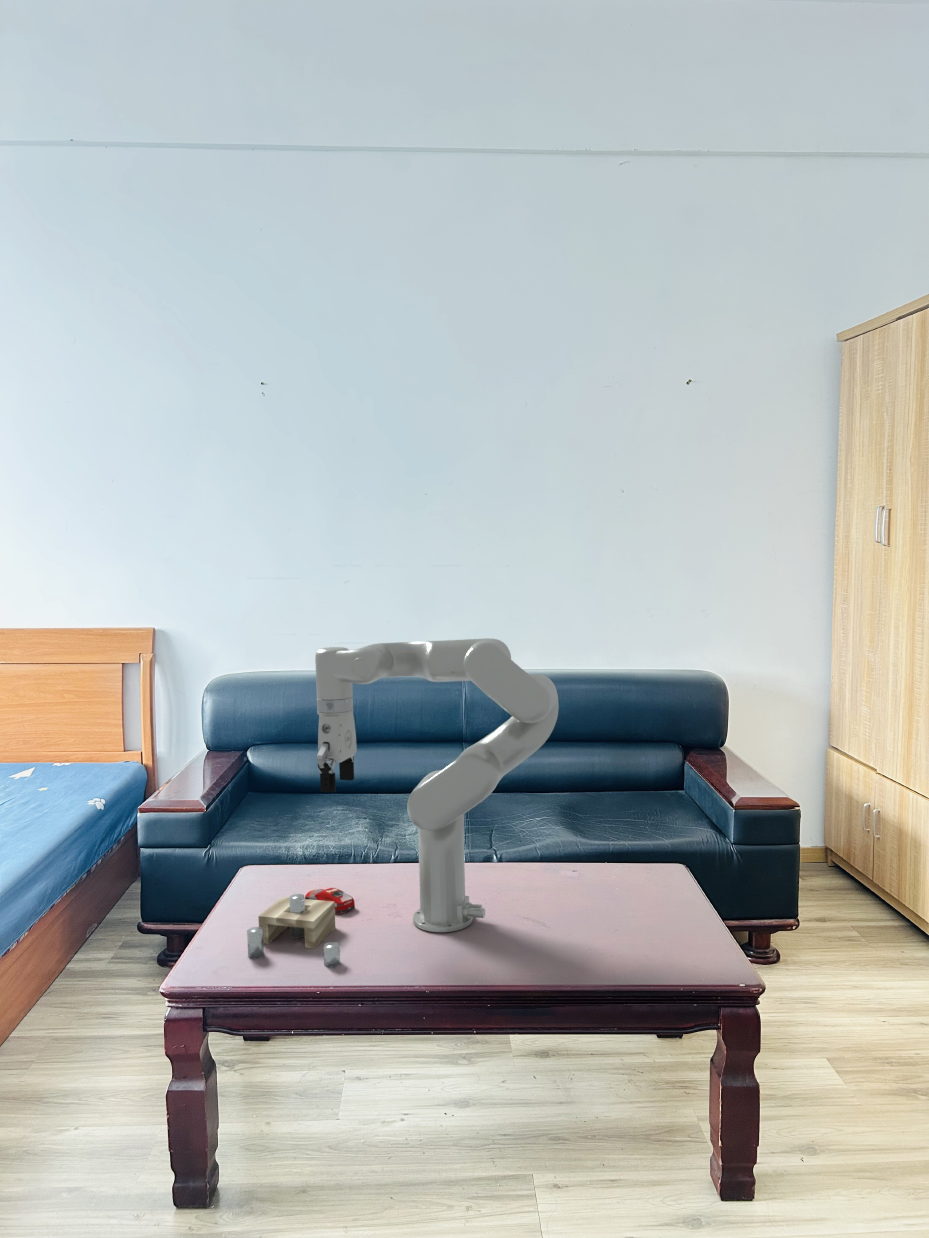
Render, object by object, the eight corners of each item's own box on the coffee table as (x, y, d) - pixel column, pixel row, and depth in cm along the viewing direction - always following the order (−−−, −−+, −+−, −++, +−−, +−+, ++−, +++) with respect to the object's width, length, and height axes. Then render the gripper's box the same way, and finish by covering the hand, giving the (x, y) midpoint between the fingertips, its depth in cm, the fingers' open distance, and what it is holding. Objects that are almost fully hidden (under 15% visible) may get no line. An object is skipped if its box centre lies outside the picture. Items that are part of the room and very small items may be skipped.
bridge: (335, 927, 180) (334, 901, 179) (314, 948, 170) (313, 921, 170) (282, 922, 183) (281, 896, 183) (259, 942, 173) (258, 915, 173)
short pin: (342, 960, 165) (342, 942, 165) (336, 967, 162) (335, 949, 162) (328, 959, 166) (327, 941, 165) (321, 966, 163) (320, 948, 163)
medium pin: (266, 952, 169) (265, 927, 169) (259, 959, 166) (258, 933, 166) (253, 950, 170) (251, 926, 170) (245, 957, 167) (244, 932, 167)
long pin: (308, 932, 178) (306, 894, 177) (301, 938, 175) (300, 900, 174) (294, 931, 179) (293, 893, 178) (288, 937, 176) (286, 898, 175)
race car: (300, 904, 194) (299, 886, 193) (319, 896, 198) (318, 879, 197) (339, 918, 185) (339, 900, 185) (358, 910, 189) (357, 892, 189)
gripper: (334, 713, 173) (337, 797, 175) (367, 699, 190) (369, 776, 191) (300, 712, 175) (303, 795, 177) (335, 699, 192) (338, 774, 193)
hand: (337, 785), depth 184 cm, fingers open, 9 cm apart
